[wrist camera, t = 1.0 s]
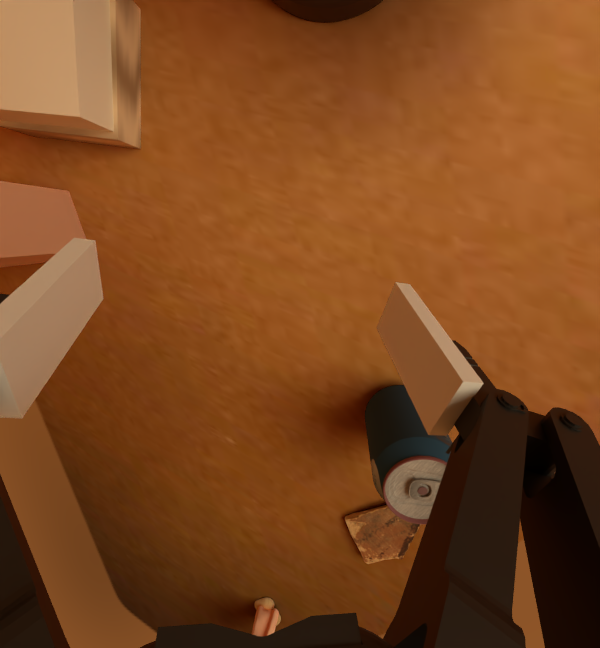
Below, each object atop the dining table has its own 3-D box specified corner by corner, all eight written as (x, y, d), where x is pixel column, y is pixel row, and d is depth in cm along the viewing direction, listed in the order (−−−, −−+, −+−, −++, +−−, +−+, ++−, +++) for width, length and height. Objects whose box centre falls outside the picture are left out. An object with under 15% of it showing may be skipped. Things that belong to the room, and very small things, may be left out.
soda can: (360, 434, 38) (369, 524, 26) (367, 376, 36) (380, 445, 24) (425, 442, 37) (464, 537, 25) (436, 383, 35) (482, 457, 24)
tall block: (19, 205, 35) (-101, 196, 26) (68, 190, 34) (-37, 175, 25) (42, 262, 37) (-64, 274, 27) (90, 250, 36) (-2, 257, 26)
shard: (431, 483, 39) (435, 495, 37) (454, 535, 40) (459, 549, 39) (342, 509, 41) (343, 522, 39) (367, 557, 43) (368, 571, 41)
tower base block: (27, 2, 31) (-17, -30, 27) (144, 12, 30) (115, -20, 26) (38, 137, 34) (-1, 125, 30) (144, 150, 33) (118, 139, 29)
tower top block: (-10, -21, 27) (-68, -62, 23) (109, -13, 26) (69, -55, 22) (5, 121, 30) (-44, 104, 26) (114, 131, 29) (79, 116, 25)
